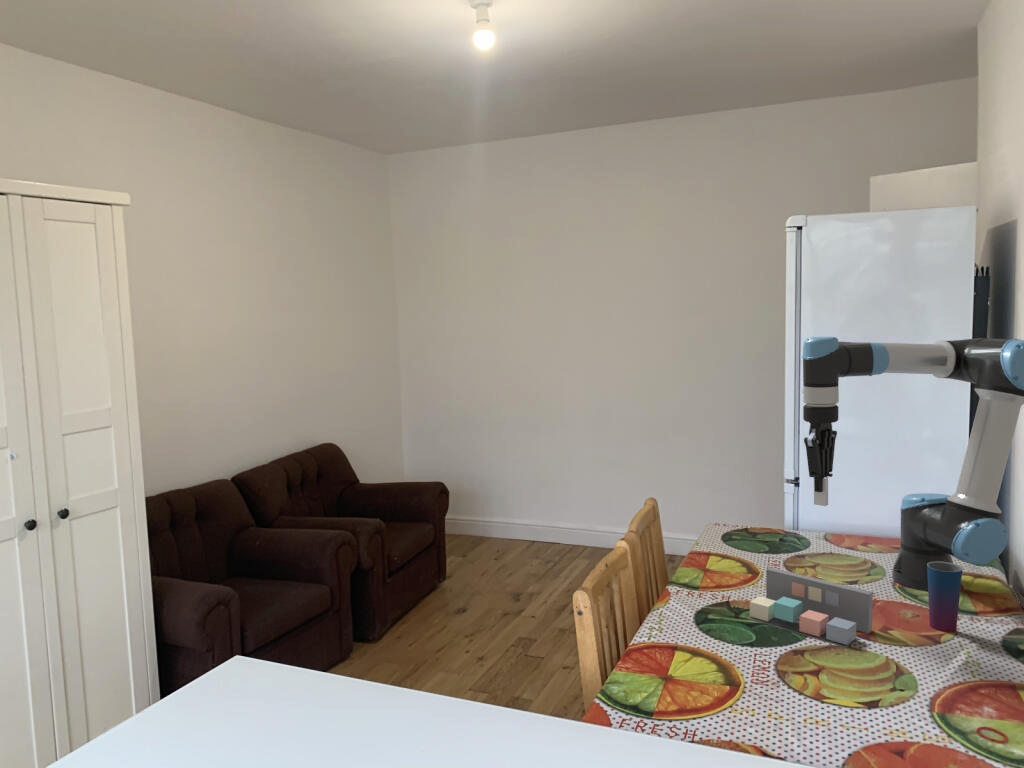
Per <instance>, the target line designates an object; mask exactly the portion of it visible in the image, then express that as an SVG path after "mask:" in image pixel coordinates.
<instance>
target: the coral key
mask: <svg viewBox="0 0 1024 768" xmlns="http://www.w3.org/2000/svg"><path fill="white" fill-rule="evenodd" d="M799 621H800V626H799V631H801V632H804V633H808V634H811V635H814V636H818V637H820V636H822V635H823V634H824V633H826V624H827V623H828V622H829V615H826V614H822V613H819V612H815V611H811V610H808V611H806V612H805V613H803V614H802V615H800V618H799Z"/></svg>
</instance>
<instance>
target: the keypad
mask: <svg viewBox="0 0 1024 768" xmlns="http://www.w3.org/2000/svg"><path fill="white" fill-rule="evenodd" d="M765 576H766V578H765V579H766V580H765V581H766V582H765V583H766V587H765V589H766V590H765V593H766V594H765V595H766V597H765V598H768V599H771V600H775V601H777V600H779V599H780V598H782V597H787V598H791V599H794V600H798V601H802V614H803V613H805V612H806V611H808V610H811V611H815V612H819V613H822V614H826V615H829V621H831V620H832V619H834V618H835V617H837V618H840V619H844V620H848V621H851V622H855V623H856V632H857V631H858V632H861V633H865V634H870V633H871V632H873V612H874V611H873V608H874V605H873V602H874V599H873V598H874V597H873V596H874V592H873V591H870V590H866V589H862V588H857V587H853V586H850V585H845V584H840V583H837V582H834V581H829V580H825V579H821V578H817V577H813V576H812V577H811V576H807V575H804V574H801V573H796V572H792V571H789V570H783V569H779V568H776V567H768V568H767V569H766V575H765ZM747 619H748V620H752V621H755V622H757V623H758V622H759V623H761V624H765V625H769V626H771V627H774V628H778V629H782V630H785V631H788V632H791V633H795V634H798V635H802V636H804V637H808V638H812V639H815V640H817V641H821V642H824V643H827V644H831V645H834V646H838V647H841V648H845V649H848V648H849V647H850V646H851V645H853V644H854V643H855V642H857V641H858V640H859V639H860V638H859V637H856V639H855V640H854V641H852V642H851V643H850V644H848V645H845V644H841V643H838V642H834V641H831V640H828V639H826V633H824V634H823V635H822V636H820V637H818V636H814V635H811V634H808V633H804V632H801V631H799V626H800V620H796V621H795V622H789V621H786V620H782V619H779V618H775V617H774V618H773V619H771V620H770V621H768V622H767V621H764V620H761V619H757V618H754V617H751V616H750V615H749V616H748V617H747Z"/></svg>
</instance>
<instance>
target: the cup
mask: <svg viewBox="0 0 1024 768" xmlns="http://www.w3.org/2000/svg"><path fill="white" fill-rule="evenodd" d="M953 563H954V562H953ZM953 563H949V562H940V561H935V562H929V563H928V564H927V575H928V590H927V592H928V593H927V594H928V595H927V596H928V616H929V627H930V628H931V629H933V630H936V631H939V632H944V633H947V632H948V633H954V634H955V633H957V625H958V616H959V606H960V596H961V587H962V578H963V567H962V566H960V565H958V564H957V563H954V564H953Z"/></svg>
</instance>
